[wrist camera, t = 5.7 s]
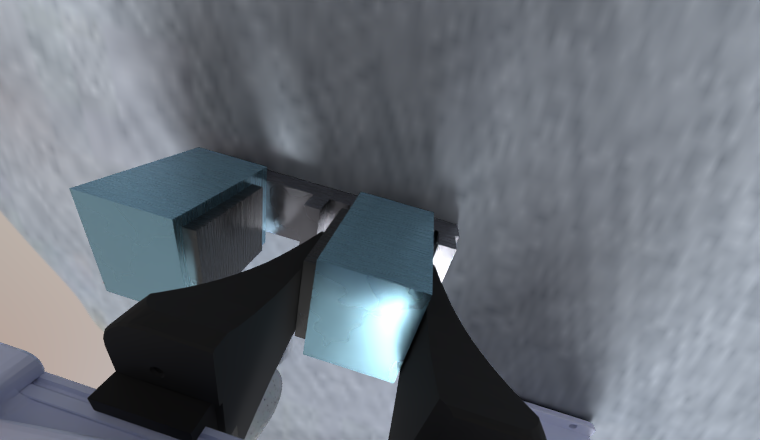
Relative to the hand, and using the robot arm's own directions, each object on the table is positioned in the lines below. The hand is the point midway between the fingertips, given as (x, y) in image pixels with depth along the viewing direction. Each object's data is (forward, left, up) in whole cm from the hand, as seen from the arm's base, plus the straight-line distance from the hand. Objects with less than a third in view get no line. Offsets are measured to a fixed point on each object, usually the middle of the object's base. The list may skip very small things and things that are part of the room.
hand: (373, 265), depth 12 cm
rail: (+3, 0, -3) cm, 5 cm away
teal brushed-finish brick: (0, 0, -2) cm, 2 cm away
